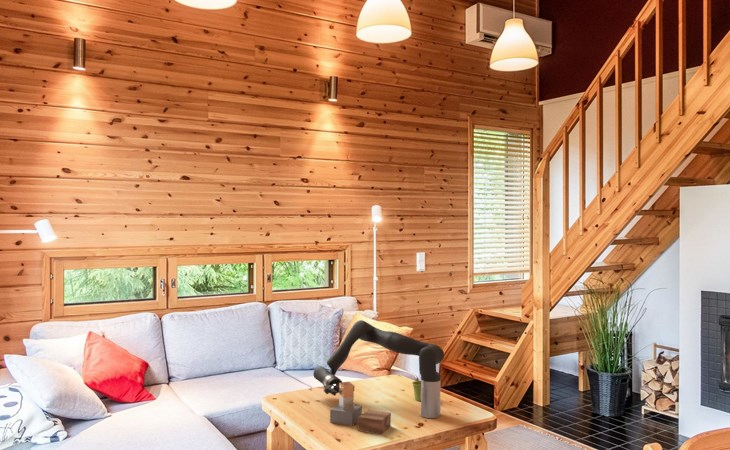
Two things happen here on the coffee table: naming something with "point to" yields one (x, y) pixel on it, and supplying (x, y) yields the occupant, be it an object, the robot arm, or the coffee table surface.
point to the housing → (346, 395)
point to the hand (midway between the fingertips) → (343, 392)
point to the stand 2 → (374, 421)
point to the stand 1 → (345, 415)
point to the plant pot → (417, 390)
